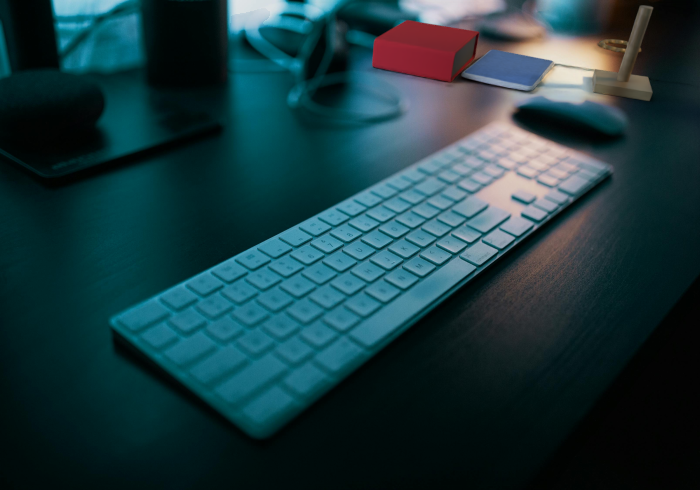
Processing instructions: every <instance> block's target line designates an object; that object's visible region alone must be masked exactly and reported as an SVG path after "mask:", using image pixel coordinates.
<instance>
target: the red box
mask: <svg viewBox="0 0 700 490" xmlns="http://www.w3.org/2000/svg"><path fill="white" fill-rule="evenodd" d="M479 37H480V31H478V30H477V31H476V30H471V29H465V28H459V27H452V26H444V25H439V24H433V23H427V22H421V21H415V20H409V19H406V20H404V21H403V22H401V23H400V24H397V25H396V26H394V27H392V28H391V29H389V30H387V31H386V32H384V33H382V34H381V35H379V36H377V37H375V39H374V41H373V50H372V62H371V64H372V65H371V67H372V68H375V69H380V70H386V71H390V72H396V73H401V74H406V75H410V76H416V77H422V78H427V79H433V80H437V81H442V82H448V83H452V82H453V81H454V80H455V79H456V78H457V77H458V76H459V75H460V73H462V72H463V71H464V70H465V69H466V67H467V66H469V65H470V64H471V62H472V61H473V60H475V58H476V54H477V49H478V42H479Z"/></svg>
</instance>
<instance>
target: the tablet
mask: <svg viewBox="0 0 700 490" xmlns="http://www.w3.org/2000/svg"><path fill="white" fill-rule="evenodd" d="M554 65H555V61H553V60H551V59H547V58H541V57H535V56H530V55H525V54H520V53H515V52H510V51H504V50H499V49H490V50H488V51H487V52H486V53H485V54H484V55H482V56H481V57H480V58H479V59H477V60H476V61H474V62H473V63H472V64H471V65H470V66H468V67H467V68H465V69H464V70H462V71H461V77H462V78H465V79H468V80H472V81H476V82H480V83H484V84H489V85H492V86H498V87H503V88H508V89H514V90H521V91H527V92H528V91H529V92H530V91H533V90H535V89H536V87H537V86H538V85H539V84H540V82H541V81H542V80H543V79H544V77H545V76H546V75H547V74H548V73H549V72H550V70H551V69H552V68H553V67H554Z"/></svg>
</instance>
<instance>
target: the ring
mask: <svg viewBox="0 0 700 490" xmlns="http://www.w3.org/2000/svg"><path fill="white" fill-rule="evenodd" d="M628 42H629V41H627V40H622V39H611V38H608V39H607V38H605V39H601V40H600V41H599V42H598V46H599V47H601V48H602V49H604V50H608V51H613V52H614V53H615V52H617V53H623V54H625V51H626V48H624V47H623V48H622V47H616V46H613V45H609V44H617V45H622V46H623V45H624V46H627V45H628ZM641 52H642V48H641V47H640V49H639V52H638V53H641Z"/></svg>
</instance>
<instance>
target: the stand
mask: <svg viewBox="0 0 700 490" xmlns="http://www.w3.org/2000/svg"><path fill="white" fill-rule="evenodd" d="M653 10H654V7H653V6H651V5H639V8H638V11H637V14H636V17H635V20H634V23H633V26H632V28H631V29H632V30H631V33H630V35H629V39H628V41H627V42H628V45H626V48H625V49H626V51H625V53H623V57H622V60H621V63H620V67H619V70H618V72H617V71H611V70H605V69H598V68H595V69H594V71H593V75H592V93H595V94H596V93H597V94H602V95H609V96H616V97H622V98H628V99H635V100H641V101H645V102H650V101H651V98H652V96H653V89H652V86H651V83H650V79H649V76H645V75H637V74H632V73H633V70H634V67H635V63H636V61H637V57H638V54H639V53H640V52H639V49H640V48H641V46H642V42H643V40H644V37H645V34H646V31H647V28H648V25H649V22H650V19H651V16H652V13H653Z"/></svg>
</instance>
